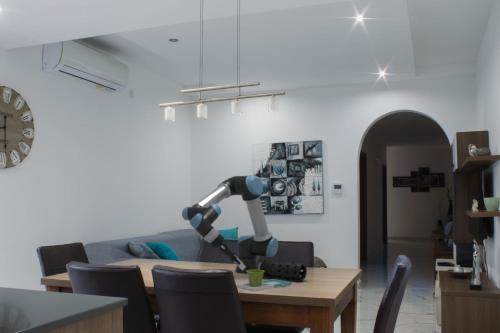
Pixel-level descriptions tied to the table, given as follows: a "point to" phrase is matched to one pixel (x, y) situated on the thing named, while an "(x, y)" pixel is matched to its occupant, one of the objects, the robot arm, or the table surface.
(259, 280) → the plant pot
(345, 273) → the table surface
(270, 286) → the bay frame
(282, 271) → the muzzle brake
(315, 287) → the table surface
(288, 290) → the table surface
